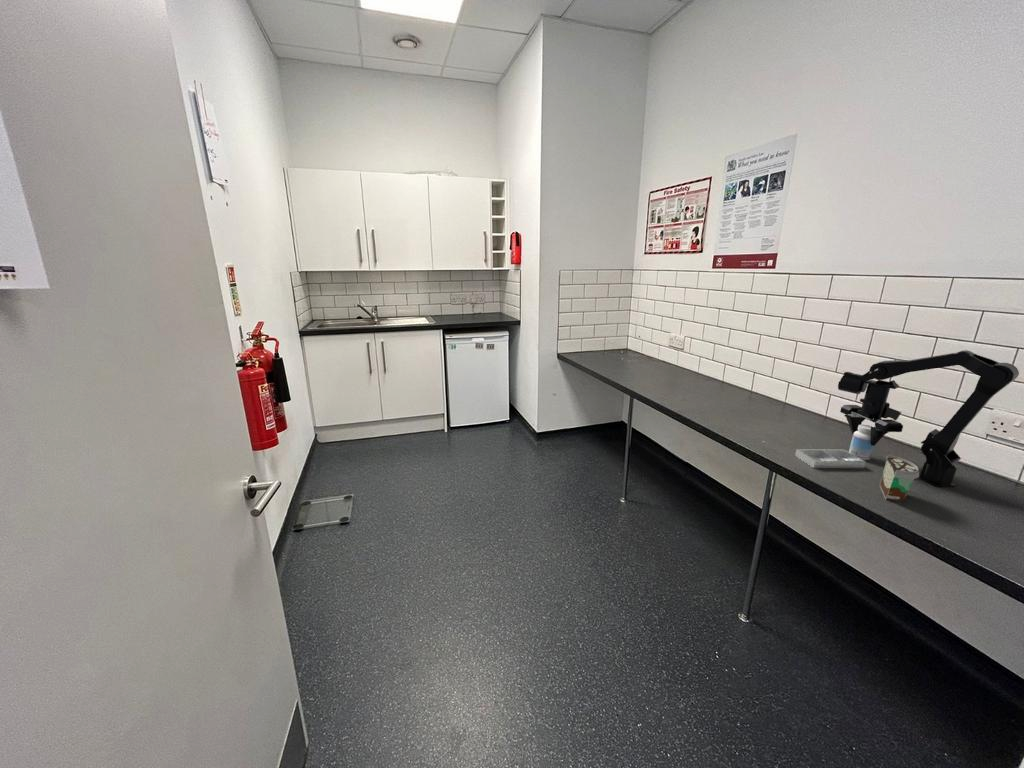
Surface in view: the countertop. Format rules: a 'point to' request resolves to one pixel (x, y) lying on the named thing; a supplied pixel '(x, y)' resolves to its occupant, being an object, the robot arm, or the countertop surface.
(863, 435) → the pill bottle
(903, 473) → the food container
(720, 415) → the countertop surface
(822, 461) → the grey tray
